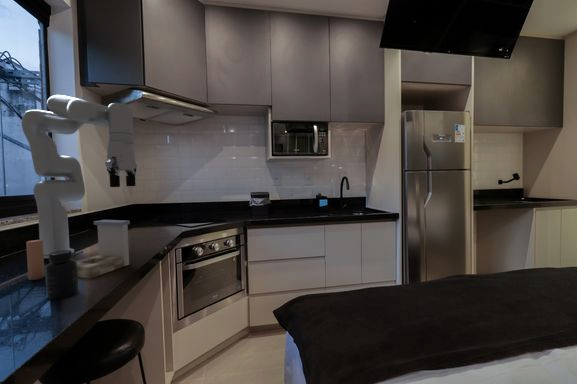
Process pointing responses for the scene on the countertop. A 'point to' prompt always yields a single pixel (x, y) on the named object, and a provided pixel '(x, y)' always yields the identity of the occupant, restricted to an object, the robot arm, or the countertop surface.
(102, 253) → the white lidded canister
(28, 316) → the countertop surface
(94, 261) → the socket block
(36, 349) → the countertop surface
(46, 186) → the robot arm
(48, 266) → the supplement bottle
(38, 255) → the peg
